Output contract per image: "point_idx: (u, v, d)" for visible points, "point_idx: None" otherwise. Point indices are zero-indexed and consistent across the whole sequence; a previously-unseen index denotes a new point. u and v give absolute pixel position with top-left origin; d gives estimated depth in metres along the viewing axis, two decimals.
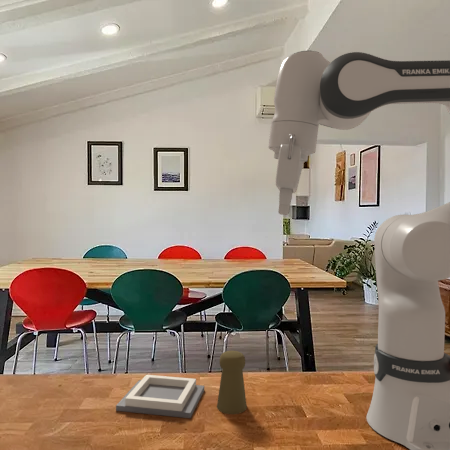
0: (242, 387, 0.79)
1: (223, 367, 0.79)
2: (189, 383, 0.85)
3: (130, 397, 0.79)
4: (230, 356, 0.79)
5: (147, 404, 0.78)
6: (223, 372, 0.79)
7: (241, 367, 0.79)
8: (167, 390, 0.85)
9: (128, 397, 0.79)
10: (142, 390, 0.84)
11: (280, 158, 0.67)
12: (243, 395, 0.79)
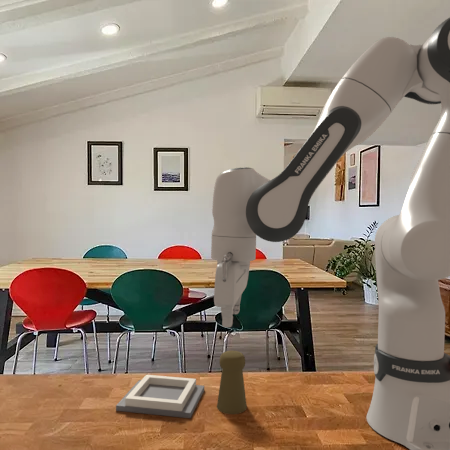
0: (242, 387, 0.79)
1: (223, 367, 0.79)
2: (189, 383, 0.85)
3: (130, 397, 0.79)
4: (230, 356, 0.79)
5: (147, 404, 0.78)
6: (223, 372, 0.79)
7: (241, 367, 0.79)
8: (167, 390, 0.85)
9: (128, 397, 0.79)
10: (142, 390, 0.84)
11: (216, 281, 0.70)
12: (243, 395, 0.79)
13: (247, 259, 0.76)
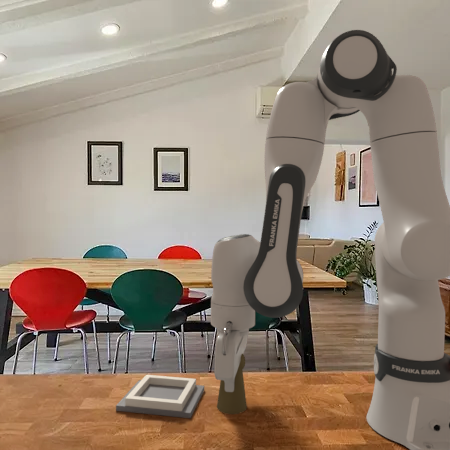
0: (242, 387, 0.79)
1: None
2: (189, 383, 0.85)
3: (130, 397, 0.79)
4: None
5: (147, 404, 0.78)
6: None
7: (241, 367, 0.79)
8: (167, 390, 0.85)
9: (128, 397, 0.79)
10: (142, 390, 0.84)
11: (216, 354, 0.71)
12: (243, 395, 0.79)
13: (247, 327, 0.77)
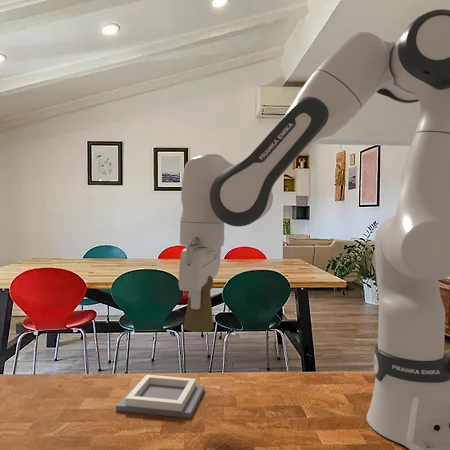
0: (209, 307, 0.80)
1: None
2: (189, 383, 0.85)
3: (130, 397, 0.79)
4: None
5: (147, 404, 0.78)
6: None
7: (208, 287, 0.79)
8: (167, 390, 0.85)
9: (128, 397, 0.79)
10: (142, 390, 0.84)
11: (180, 264, 0.71)
12: (210, 315, 0.80)
13: (214, 245, 0.77)
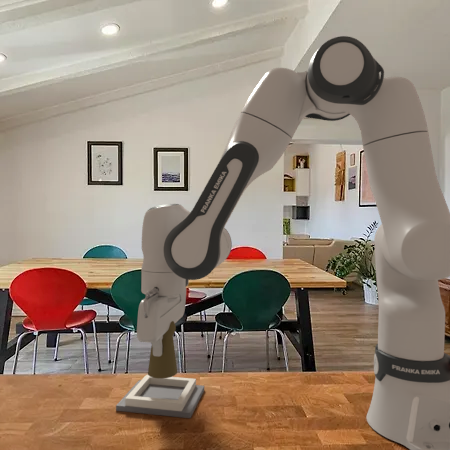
0: (171, 353, 0.82)
1: None
2: (189, 383, 0.85)
3: (130, 397, 0.79)
4: None
5: (147, 404, 0.78)
6: None
7: (170, 333, 0.81)
8: (167, 390, 0.85)
9: (128, 397, 0.79)
10: (142, 390, 0.84)
11: (138, 317, 0.73)
12: (172, 360, 0.82)
13: (174, 293, 0.79)
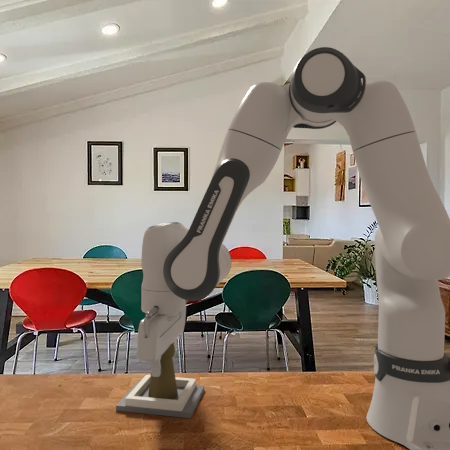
0: (171, 376, 0.82)
1: None
2: (189, 383, 0.85)
3: (130, 397, 0.79)
4: None
5: (147, 404, 0.78)
6: None
7: (169, 356, 0.81)
8: None
9: (128, 397, 0.79)
10: (142, 390, 0.84)
11: (138, 337, 0.73)
12: (172, 383, 0.82)
13: (173, 311, 0.79)
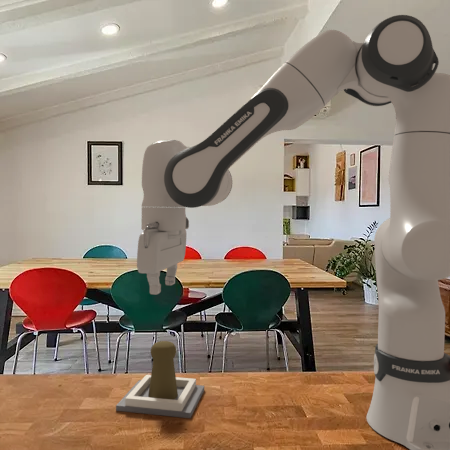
0: (172, 376, 0.82)
1: (153, 356, 0.81)
2: (189, 383, 0.85)
3: (130, 397, 0.79)
4: (159, 346, 0.81)
5: (147, 404, 0.78)
6: (154, 361, 0.82)
7: (170, 357, 0.81)
8: None
9: (128, 397, 0.79)
10: (142, 390, 0.84)
11: (138, 247, 0.73)
12: (173, 384, 0.82)
13: (174, 228, 0.78)
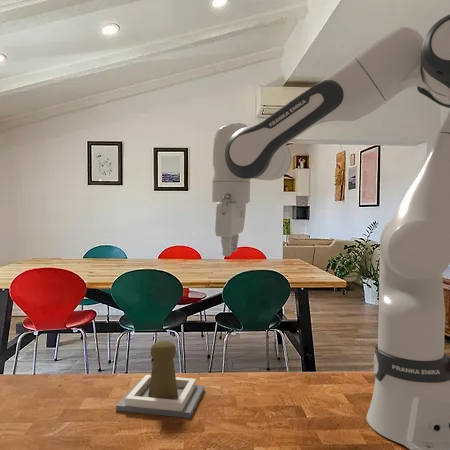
0: (172, 376, 0.82)
1: (153, 356, 0.81)
2: (189, 383, 0.85)
3: (130, 397, 0.79)
4: (159, 346, 0.81)
5: (147, 404, 0.78)
6: (153, 361, 0.82)
7: (170, 357, 0.81)
8: None
9: (128, 397, 0.79)
10: (142, 390, 0.84)
11: (217, 214, 0.85)
12: (173, 384, 0.82)
13: (242, 200, 0.91)
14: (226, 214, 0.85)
